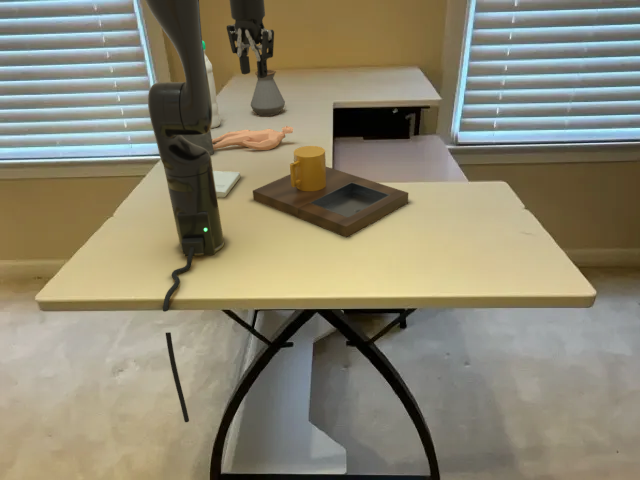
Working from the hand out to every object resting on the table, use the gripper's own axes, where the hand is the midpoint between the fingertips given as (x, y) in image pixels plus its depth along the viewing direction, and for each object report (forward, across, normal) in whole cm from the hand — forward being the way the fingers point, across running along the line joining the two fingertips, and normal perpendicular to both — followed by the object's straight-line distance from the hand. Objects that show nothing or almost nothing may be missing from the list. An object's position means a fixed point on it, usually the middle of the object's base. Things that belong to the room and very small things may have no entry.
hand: (254, 75), depth 141 cm
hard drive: (+26, -5, -11) cm, 29 cm away
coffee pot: (+26, -44, +42) cm, 66 cm away
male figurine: (+26, -21, +14) cm, 36 cm away
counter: (+25, +23, 0) cm, 34 cm away
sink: (+25, +30, 0) cm, 39 cm away
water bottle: (+26, -46, +18) cm, 55 cm away
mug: (+23, +17, -1) cm, 29 cm away
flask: (+26, -30, -2) cm, 40 cm away
